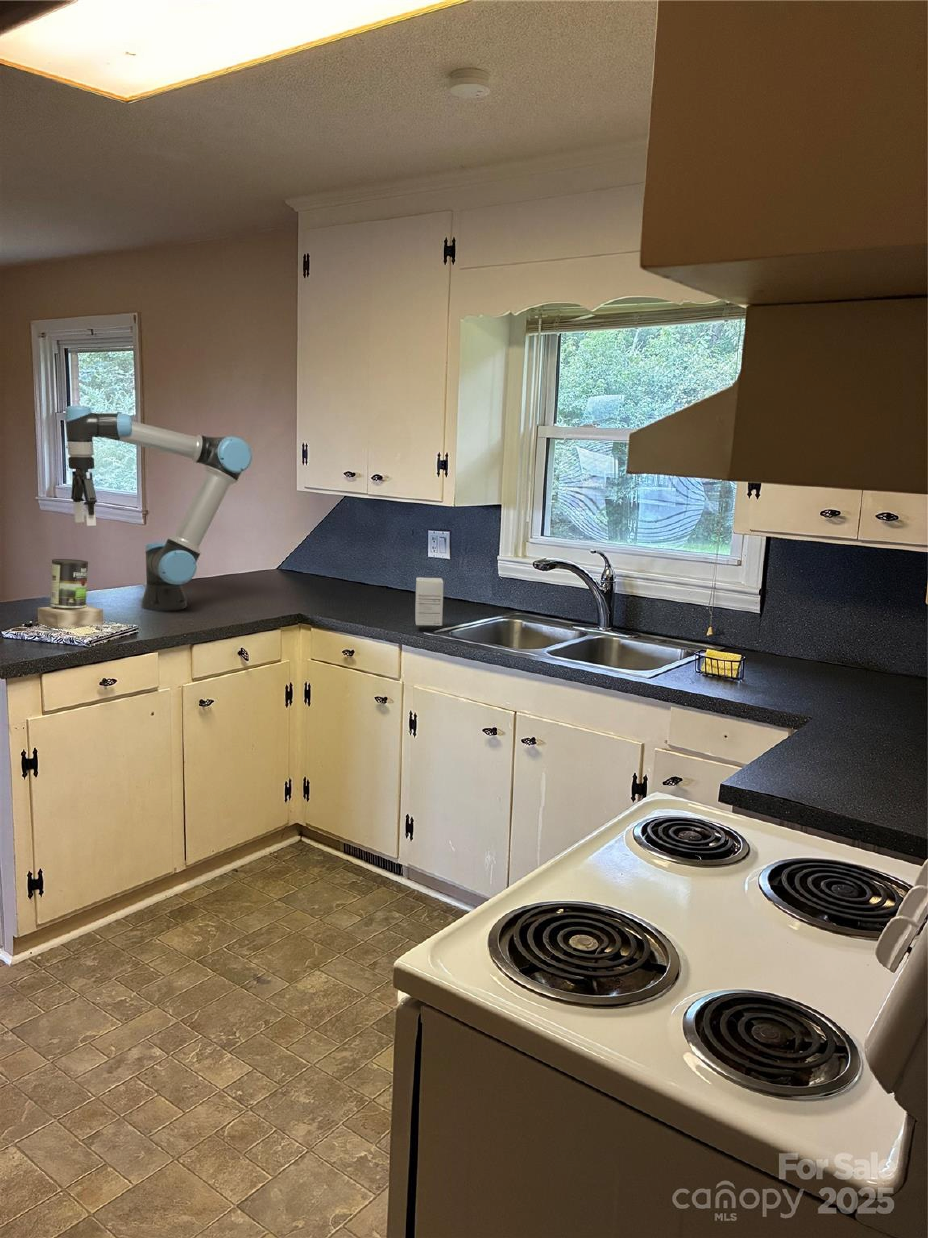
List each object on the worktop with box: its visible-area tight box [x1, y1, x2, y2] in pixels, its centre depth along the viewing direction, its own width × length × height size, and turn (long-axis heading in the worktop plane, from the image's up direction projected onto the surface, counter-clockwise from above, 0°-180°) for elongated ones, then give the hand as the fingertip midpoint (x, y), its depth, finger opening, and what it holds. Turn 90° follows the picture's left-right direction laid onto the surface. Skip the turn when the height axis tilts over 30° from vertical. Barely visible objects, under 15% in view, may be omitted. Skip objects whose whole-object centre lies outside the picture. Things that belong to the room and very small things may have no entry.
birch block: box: [36, 604, 104, 630], centre depth 286 cm, size 14×14×6 cm
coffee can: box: [50, 558, 89, 608], centre depth 287 cm, size 10×10×14 cm
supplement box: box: [414, 576, 444, 626], centre depth 314 cm, size 9×9×15 cm
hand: (85, 523), depth 298 cm, fingers open, 13 cm apart
